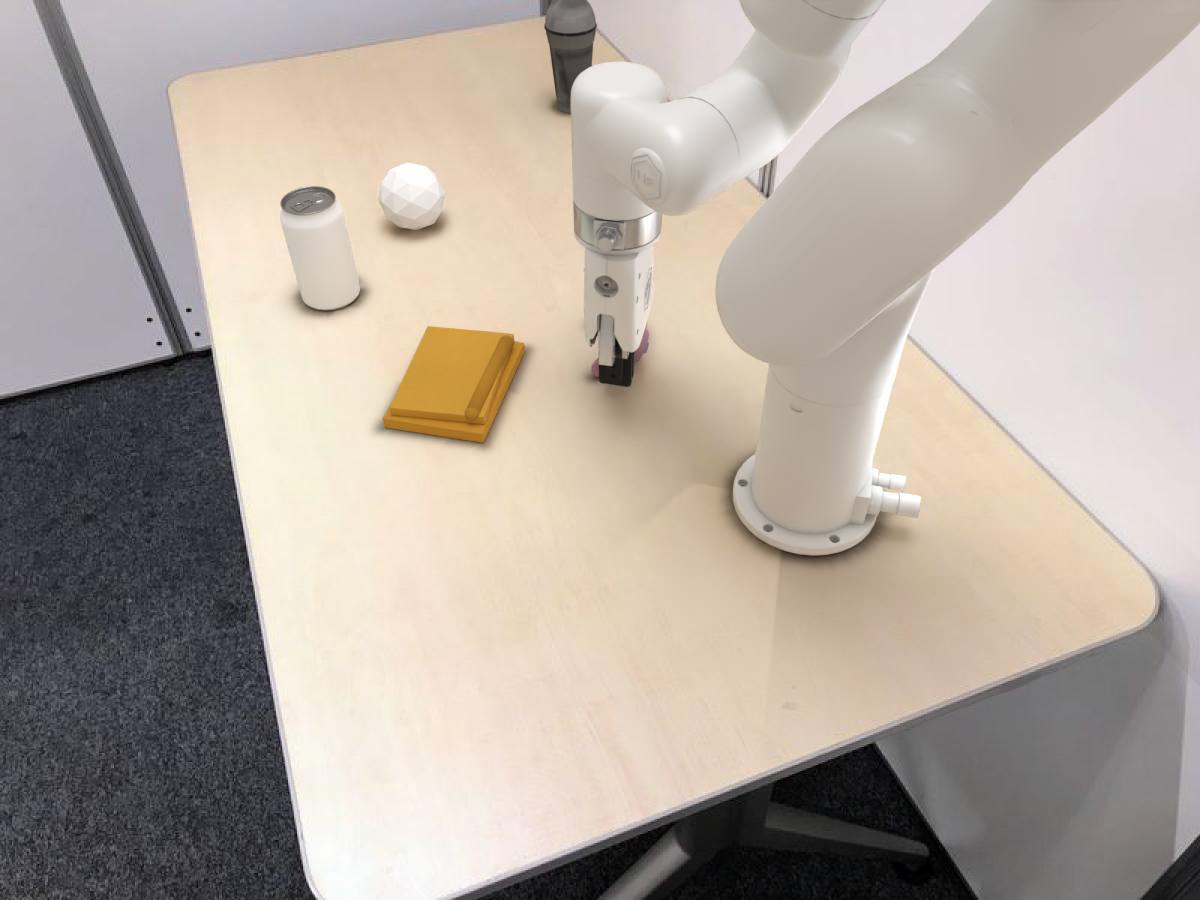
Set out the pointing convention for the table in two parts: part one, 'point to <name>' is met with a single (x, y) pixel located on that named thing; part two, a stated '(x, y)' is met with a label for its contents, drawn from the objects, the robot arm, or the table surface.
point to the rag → (455, 383)
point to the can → (319, 248)
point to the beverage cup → (569, 44)
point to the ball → (411, 196)
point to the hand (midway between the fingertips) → (616, 379)
